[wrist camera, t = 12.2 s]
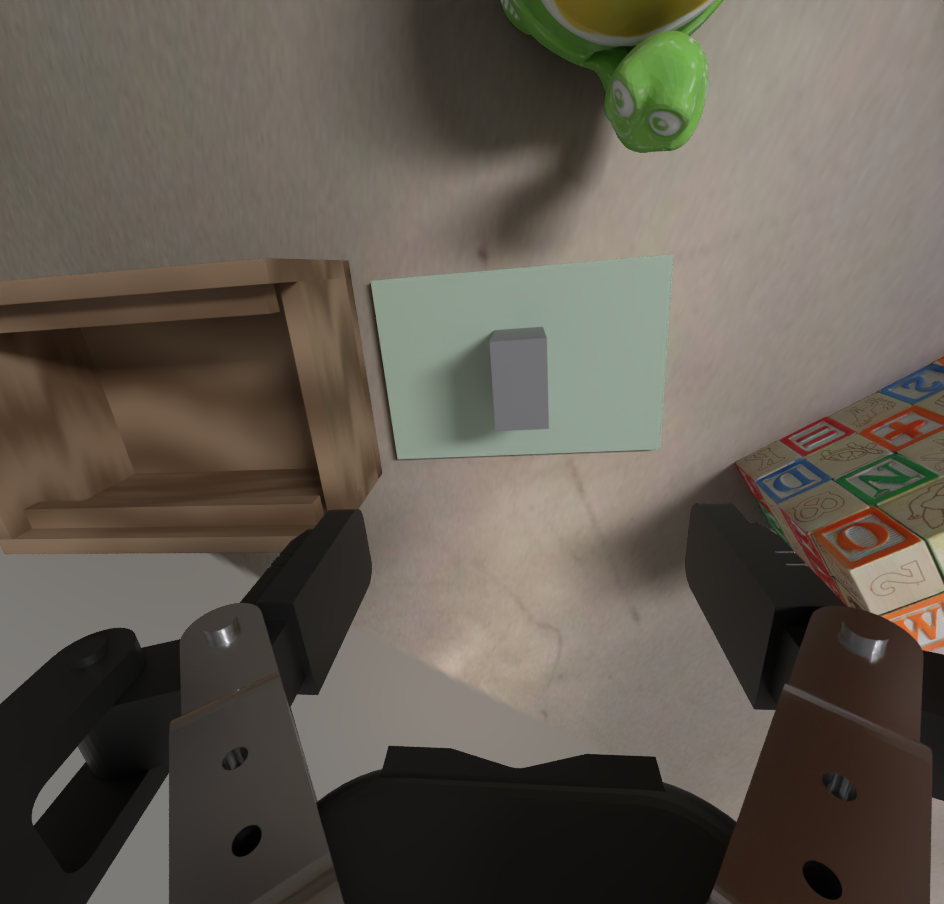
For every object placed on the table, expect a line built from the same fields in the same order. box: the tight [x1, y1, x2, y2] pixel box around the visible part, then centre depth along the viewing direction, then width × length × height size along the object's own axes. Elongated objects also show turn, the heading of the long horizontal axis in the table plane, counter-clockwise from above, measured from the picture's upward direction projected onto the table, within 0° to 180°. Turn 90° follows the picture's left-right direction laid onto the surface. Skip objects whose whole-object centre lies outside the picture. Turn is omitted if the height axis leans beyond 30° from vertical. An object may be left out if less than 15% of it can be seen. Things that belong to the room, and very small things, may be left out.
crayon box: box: [0, 258, 382, 554], centre depth 28 cm, size 15×20×10 cm
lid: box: [371, 254, 674, 459], centre depth 28 cm, size 12×18×6 cm, turn 95°
